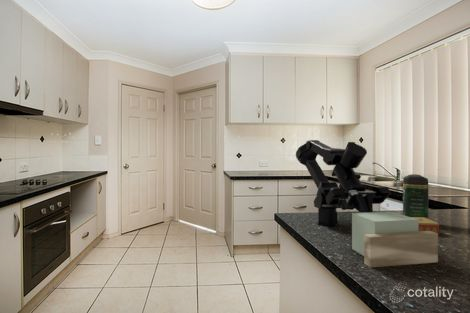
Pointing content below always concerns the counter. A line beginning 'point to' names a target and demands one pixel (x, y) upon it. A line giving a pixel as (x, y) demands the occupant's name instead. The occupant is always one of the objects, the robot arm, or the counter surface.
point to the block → (379, 226)
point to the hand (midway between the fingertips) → (371, 220)
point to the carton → (427, 225)
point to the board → (400, 248)
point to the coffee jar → (415, 196)
